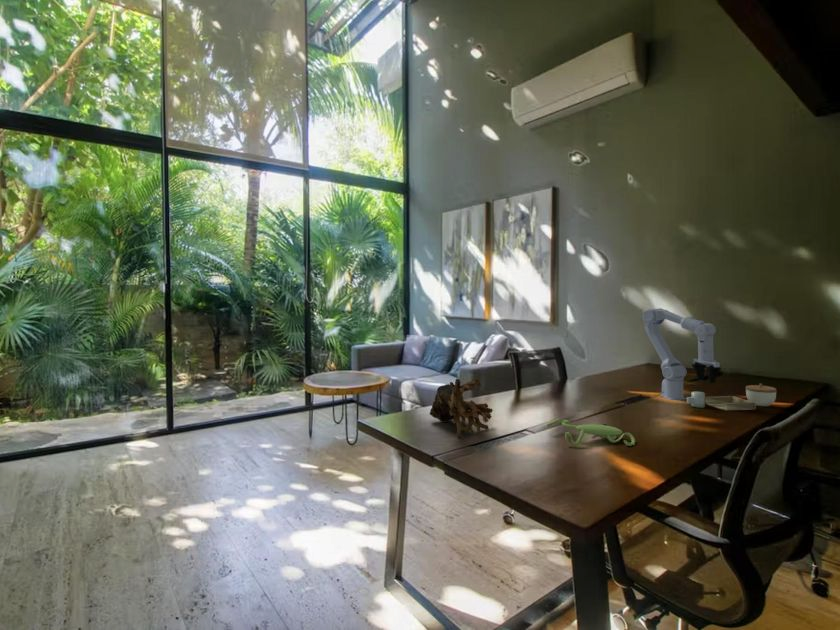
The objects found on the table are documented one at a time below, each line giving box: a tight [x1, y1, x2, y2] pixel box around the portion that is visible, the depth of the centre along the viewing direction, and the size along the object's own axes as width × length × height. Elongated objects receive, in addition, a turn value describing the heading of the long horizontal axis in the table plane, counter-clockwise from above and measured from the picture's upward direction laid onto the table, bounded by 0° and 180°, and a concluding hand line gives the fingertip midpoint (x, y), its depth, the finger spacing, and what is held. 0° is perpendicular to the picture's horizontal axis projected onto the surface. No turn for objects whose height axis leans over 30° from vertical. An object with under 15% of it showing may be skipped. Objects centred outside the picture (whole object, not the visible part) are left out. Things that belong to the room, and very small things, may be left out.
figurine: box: [546, 418, 636, 448], centre depth 156 cm, size 18×27×6 cm
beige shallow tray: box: [705, 395, 757, 411], centre depth 194 cm, size 13×13×3 cm
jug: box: [686, 390, 706, 409], centre depth 195 cm, size 5×7×6 cm
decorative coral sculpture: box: [429, 378, 493, 438], centre depth 171 cm, size 26×23×30 cm
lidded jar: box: [745, 383, 777, 407], centre depth 195 cm, size 11×11×9 cm
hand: (706, 381), depth 198 cm, fingers open, 7 cm apart
